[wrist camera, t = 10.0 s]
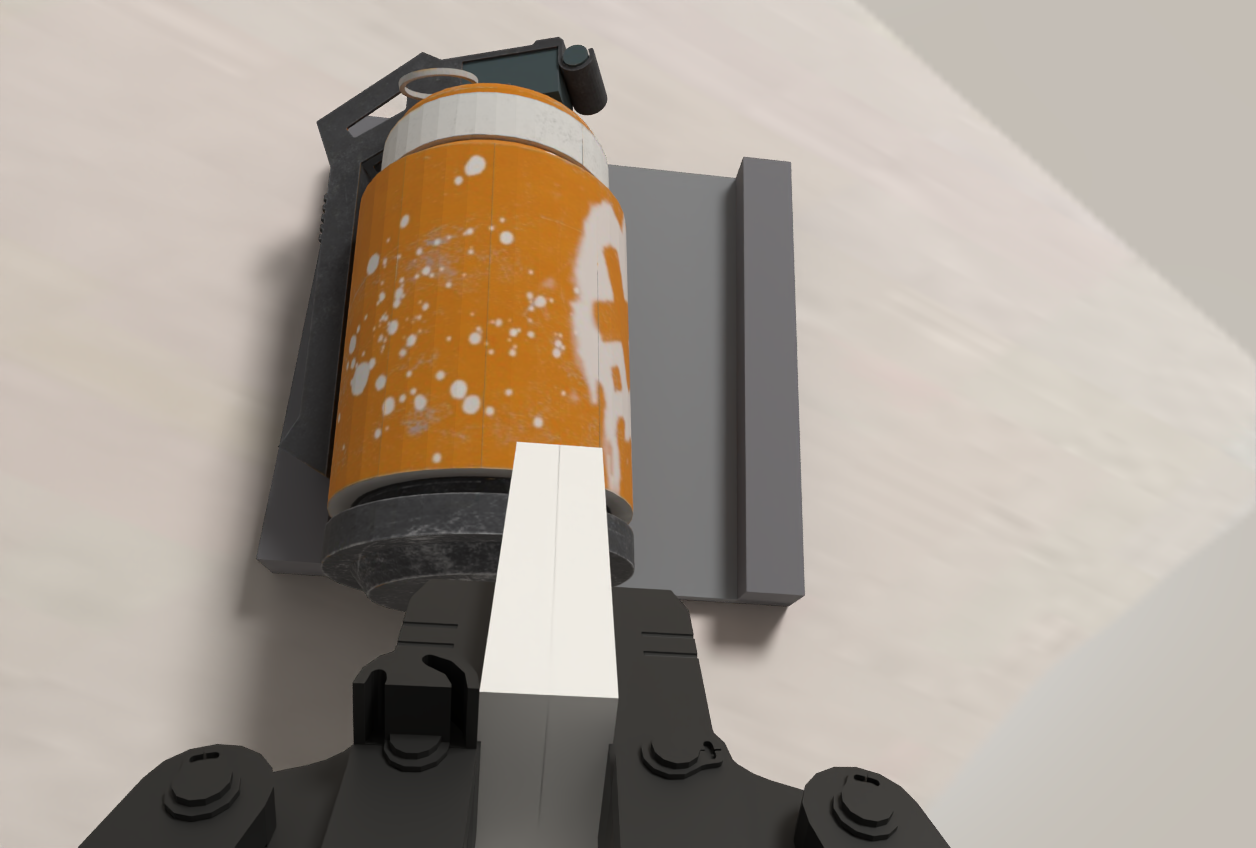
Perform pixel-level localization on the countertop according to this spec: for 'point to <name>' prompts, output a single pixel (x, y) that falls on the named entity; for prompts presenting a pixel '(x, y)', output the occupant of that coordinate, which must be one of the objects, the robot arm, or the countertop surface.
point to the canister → (463, 314)
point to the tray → (670, 392)
